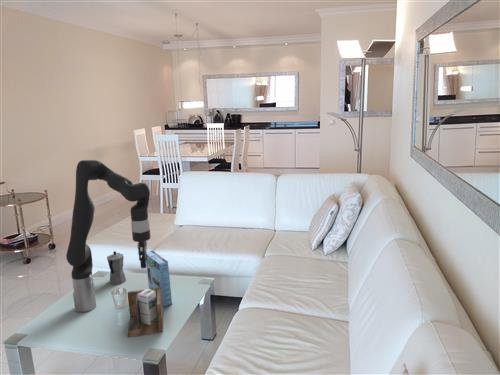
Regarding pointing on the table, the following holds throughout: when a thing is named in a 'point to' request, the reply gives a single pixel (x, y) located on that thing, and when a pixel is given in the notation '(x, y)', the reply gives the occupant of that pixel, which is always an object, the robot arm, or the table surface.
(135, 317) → the bookshelf
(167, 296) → the gum box
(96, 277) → the table surface
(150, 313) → the syrup box
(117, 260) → the coffeepot
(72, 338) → the table surface
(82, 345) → the table surface
